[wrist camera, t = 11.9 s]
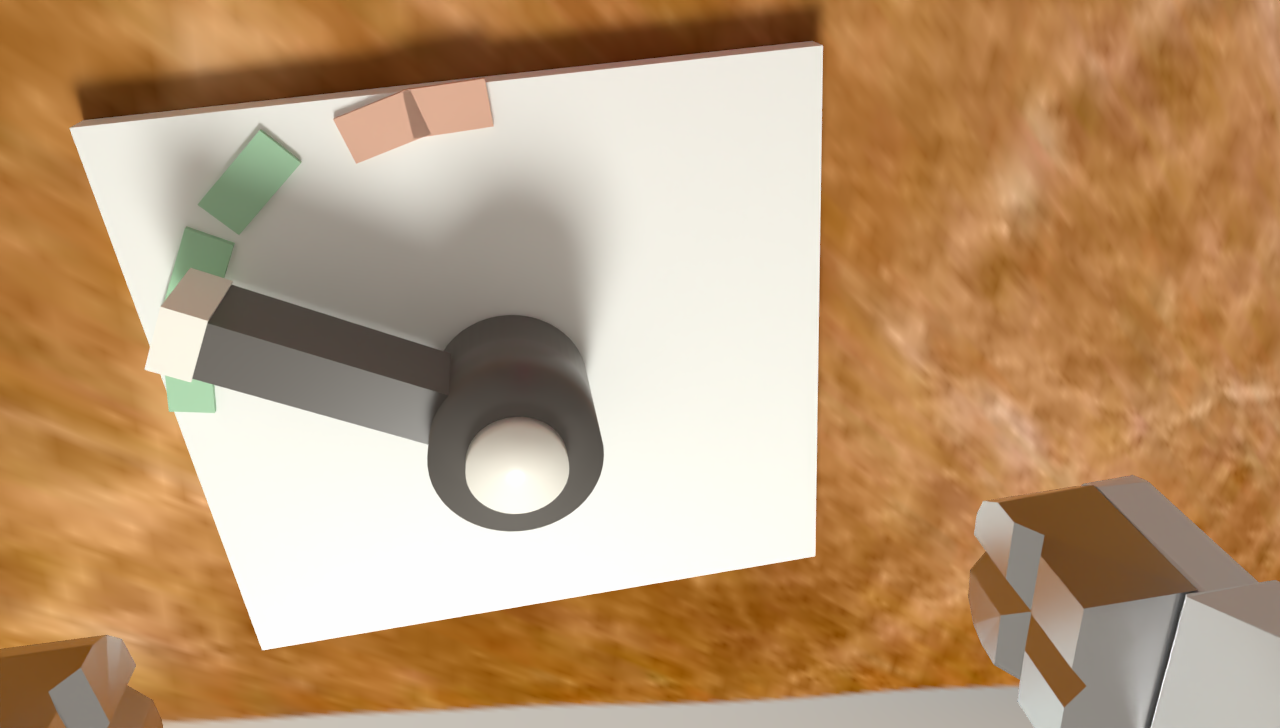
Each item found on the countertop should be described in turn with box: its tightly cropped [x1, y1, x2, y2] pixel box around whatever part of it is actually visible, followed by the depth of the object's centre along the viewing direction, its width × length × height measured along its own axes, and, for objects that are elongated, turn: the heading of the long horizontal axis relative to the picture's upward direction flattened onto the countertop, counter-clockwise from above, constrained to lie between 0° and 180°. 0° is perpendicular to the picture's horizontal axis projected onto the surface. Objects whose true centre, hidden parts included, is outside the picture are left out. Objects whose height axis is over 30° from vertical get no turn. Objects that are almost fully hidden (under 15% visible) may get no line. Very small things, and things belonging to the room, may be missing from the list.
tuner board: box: [70, 41, 823, 650], centre depth 32 cm, size 22×20×1 cm
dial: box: [145, 268, 604, 532], centre depth 28 cm, size 13×5×5 cm, turn 66°
